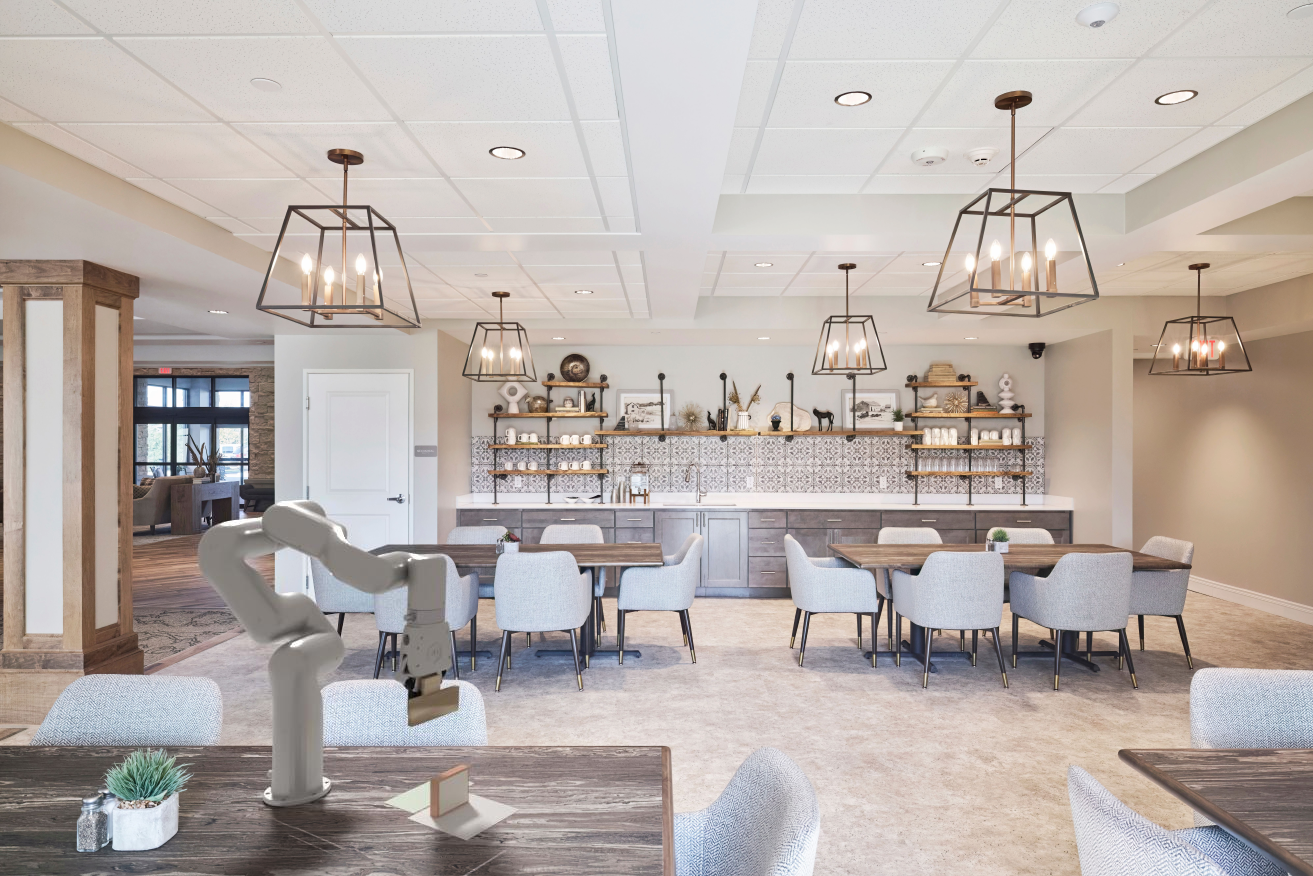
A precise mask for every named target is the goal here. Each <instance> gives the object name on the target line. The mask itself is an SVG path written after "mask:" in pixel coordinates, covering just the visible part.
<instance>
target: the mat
mask: <svg viewBox="0 0 1313 876" xmlns="http://www.w3.org/2000/svg"><path fill="white" fill-rule="evenodd" d="M518 811H521V809H520V808H517V807H514V806H511V805H509V804H505V803H501V802H498V801H496V800H492V799H489V798H487V797H486V798H485V797H482V796H480V795H476V794H473V793H470V792H469V802H468V803H466V804H464V805H462V806H460V807H458V808H456V809H454V810H452V811H451V812H449V813H447V814H445V815H443V816H441V817H439V818H435V817H432V816H430V806H428V807H426V808H424V809H422V810H420V811H418V812H416V813H414V814H413V815H410V816H409V817H407V818H406V819H408V820H409V821H413V822H415V823H418V824H421V825H423V826H426V827H429V828H432V829H434V830H436V831H439V832H441V833H442V832H443V833H445V834H448V835H451V836H453V837H456V838H459V839H461V840H464V841H468V840H471V839H472V838H473V837H475V836H477V835H478V834H481V833H482V832H485V830H487V829H489V828H491V827H493V826H494V825H497V824H498V823H499V822H501V821H503V820H504V819H507V818H509V817H510V816H513V814H515V813H517V812H518Z"/></svg>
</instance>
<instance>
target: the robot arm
mask: <svg viewBox="0 0 1313 876" xmlns="http://www.w3.org/2000/svg"><path fill="white" fill-rule="evenodd" d="M347 539H348V530H347V528H346V526H344V525H343V524H341V523H339V522H336V521H335V520H333V519H329V518H328V517H327V513H326V511H325V510H324V508H323V507H322V506H321V505H320V504H319V503H317V502H316V501H313V500H310V499H309V500H308V499H297V500H287V501H285V500H284V501H279V502H276V503H274V504H272V505H270V506H269V507H268V508H267V509H266V510H265V511H264V512H263V513H262V516H260V517H253V518H244V519H235V520H228V521H223V522H221V523H217V524H215V525H214V526H212V527H210V528H208V529H207V530H206V532H204V534H203V535H202V536H201V539H200V540H199V544H198V546H197V564H198V567H199V569H200V571H201V574H202V575H203V577H204V579H205V580H206V581H207V583H208V584H209V585H210V587H212V589H214V591H215V592H216V593H217V594H218V595H219V597H220V598H221V599H222V600H223V602H224V603H225V604H226V605H227V607H228V609H229V610H230V611H231V612H232V614H233V616H234V617H235V618H236V620H237V621H238V622H239V624H240V625H241V627H242V628H243V629H244V631H245V632H246V633H247V635H248V636H249V637H250V638H251V640H252V641H254V642H255V643H256V644H259V645H261V646H262V645H263V646H266V645H267V646H268V645H273V644H275V643H278V642H281V641H284V640H287V639H288V640H289V641H287V642H285V643H284V644H282V645H281V646H279V647H278V648H277V649H276V650H275V651H273V653H272V654H271V656H270V658H269V661H268V664H267V675H268V680H269V685H270V691H271V700H272V701H271V703H272V707H271V708H272V719H271V720H272V746H271V747H272V749H271V750H272V751H271V752H272V753H271V755H272V758H271V759H272V762H271V763H272V765H271V768H272V769H269V770H268V771H267V772H266V777H268V778H270V779H271V781H270V782H271V783H270V784H271V785H270V786H268V788H266V789H265V791H264V792H263V794H262V795H263V796H262V797H263V798H262V800H263V801H264V803H265V804H268V805H269V806H274V807H292V806H300V805H304V804H308V803H311V802H314V801H316V800H318V799H320V798H322V797H324V796H325V795H327V794H328V793H329V792H330V791H331V789H332V788H331V787H332V781H331V779H330V778H328V777H326V776H324V700H323V695H322V694H323V693H322V692H321V689H320V686H319V683H318V682H319V681H318V680H319V679H320V678H322V677H324V676H325V675H326V676H327V674H329V673H331V672H333V671H336V670H337V668H339V667H340V666H341V664H342V662H343V661H344V658H345V655H346V648H345V643H344V641H343V639H342V637H341V636H340V634H339V633H338V631H337V630H336V629H335V627H334V625H332V623H331V622H330V621H329V619H328V618H327V617H326V615H325V613H324V612H323V610H321V607H319V606H318V605H317V603H316V602H315V601H314V599H312V598H311V597H310V596H308V595H306V594H304V593H302V592H297V591H289V592H288V591H287V592H284V593H281V594H280V593H278V592H276V591H275V590H274V589H273V587H272V586H271V585H270V584H269V583H268V581H267V579H266V578H265V577H264V576H263V575H262V574H261V573H260V572H259V571H258V570H256V569H255V568H253V567H252V566H250V565H249V564H248V563H247V562H246V561H245V560H247V559H252V558H257V557H263V556H267V555H271V554H273V553H276V552H279V551H282V550H284V549H287V548H290V549H293V550H295V551H297V552H299V553H300V554H303V555H306V556H307V557H310V558H312V559H314V560H315V561H318V562H320V563H321V564H322V566H323V568H324V569H326V571H327V572H328V573H329V574H330V575H331V576H333V578H335V579H336V580H338V581H339V582H342V583H343V584H345V585H348V586H350V587H352V588H354V589H357V590H359V591H360V592H362V593H365V594H370V595H374V596H375V595H384V594H386V593H389V592H393V591H395V590H398V589H402V588H405V587H407V598H406V599H407V602H406V605H407V606H406V614H403V621H404V622H406V624H404V627H403V631H402V636H401V643H400V649H399V650H400V651H399V662H398V664H399V668H398V670H397V672H396V674H395V676H394V680H395V681H396V682H398V684H399V683H400V684H402V686H403V687H404V688H405V690H407V704H408V703H409V700H410V699H413V698H416V697H419V696H421V691H419V686H420V681H421V677H423V676H426V675H430V674H433V673H435V674H440V675H441V685H442V683H443V682H444V681H443V679H444V677H445V676H446V674H447V672H448V671H449V670H450V669H451V668H452V666H453V661H452V638H451V637H452V636H451V629H450V628H451V627H450V625H449V621H448V620H447V619H446V600H447V574H448V573H447V572H448V571H447V570H448V568H447V567H448V565H447V564H448V563H447V559H446V558H445V556H443V555H441V554H433V553H432V554H431V553H430V554H429V553H428V554H427V553H425V554H416V553H412V552H407V551H392V552H386V553H384V554H379V555H375V554H372V553H369V552H367V551H365V550H364V549H361V548H359V547H357V546H355V545H353V544H352V543H350V542H349V541H348V540H347ZM406 675H407V676H406ZM413 678H414V683H413Z"/></svg>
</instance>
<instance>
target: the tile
mask: <svg viewBox="0 0 1313 876" xmlns="http://www.w3.org/2000/svg"><path fill="white" fill-rule="evenodd" d="M469 769H470V766H468V765H464V764H460V765H458V766H457V765H456V766H455V767H453V768H451V769H448V770H447V771H444V772H442V773H440V774H438V775H436V776H433V777H431V778H430V779H429V781H430V806H429V807H430V816H432V817H435V818H439V817H441V816H443V815H445V814H447V813H449V812H451V811H452V810H454V809H456V808H458V807H460V806H462V805H464V804H466V803H468V802H469V793H470V792H469V791H470V786H469V782H470V780H469V779H470V775H469V774H470V773H469V772H470V770H469Z"/></svg>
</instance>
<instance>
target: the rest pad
mask: <svg viewBox="0 0 1313 876" xmlns="http://www.w3.org/2000/svg"><path fill="white" fill-rule="evenodd" d="M474 784H475V782H472V781H469V787H471V786H473V785H474ZM383 803H384V804H386V805H389V806H391V807H395V808H397V809H401V810H403V811H405V812H407V813H411V814H413V815H414V814H416V813H418V812H420V811H423V810H425V809H427V808H429V807H430V780H429V781H427V782H425V783H422V784H421V785H418V786H416V787H414V788H412V789H410V790H407V791H405V792H403V793H401V794H399V795H397V796H395V797H392V798H390V799H387V800H386V801H383Z"/></svg>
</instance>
